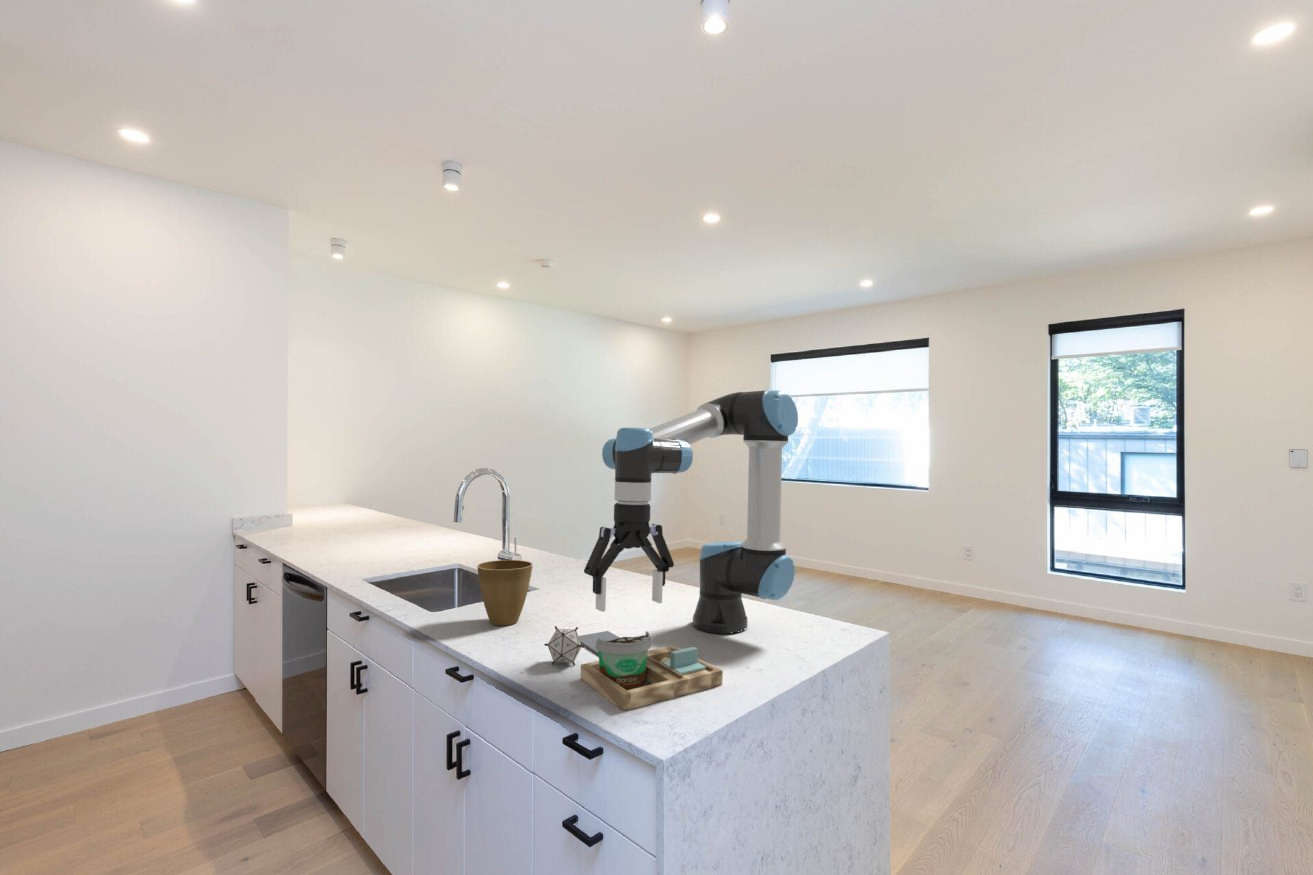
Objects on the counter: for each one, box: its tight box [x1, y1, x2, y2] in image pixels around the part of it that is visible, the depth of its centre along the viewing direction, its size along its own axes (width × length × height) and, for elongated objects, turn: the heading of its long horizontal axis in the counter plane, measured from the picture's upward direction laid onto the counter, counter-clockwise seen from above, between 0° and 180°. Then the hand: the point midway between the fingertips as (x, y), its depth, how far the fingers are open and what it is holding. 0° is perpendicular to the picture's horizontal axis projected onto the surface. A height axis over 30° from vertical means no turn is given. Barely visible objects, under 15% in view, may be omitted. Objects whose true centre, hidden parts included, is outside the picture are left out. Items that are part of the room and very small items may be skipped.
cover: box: [662, 646, 706, 675], centre depth 128 cm, size 7×7×4 cm
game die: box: [543, 625, 586, 667], centre depth 137 cm, size 9×8×10 cm
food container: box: [595, 630, 652, 690], centre depth 124 cm, size 12×6×10 cm, turn 118°
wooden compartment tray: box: [580, 645, 724, 712], centre depth 127 cm, size 24×18×4 cm
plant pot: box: [476, 559, 533, 627], centre depth 167 cm, size 15×15×16 cm
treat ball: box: [660, 658, 670, 663], centre depth 133 cm, size 3×3×3 cm
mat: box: [578, 630, 621, 656], centre depth 149 cm, size 10×16×1 cm, turn 34°
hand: (629, 605), depth 124 cm, fingers open, 13 cm apart
